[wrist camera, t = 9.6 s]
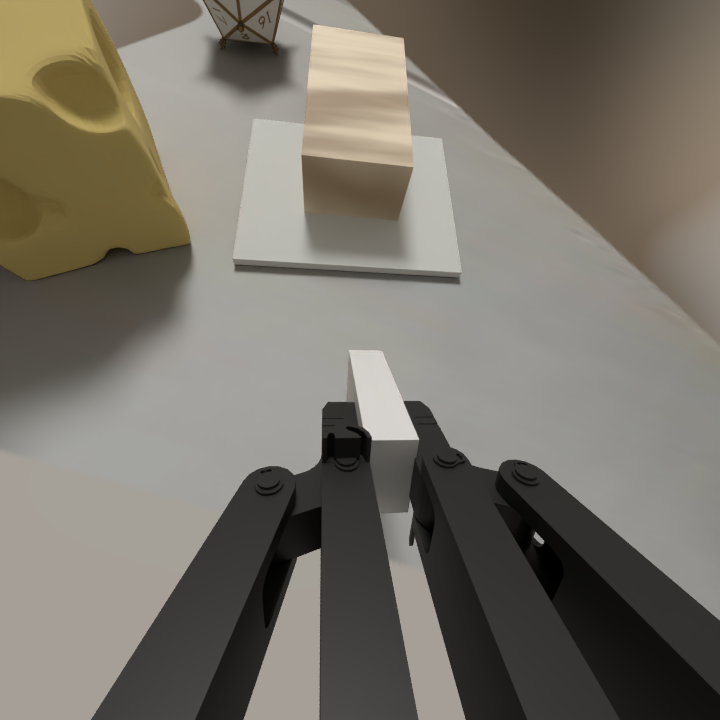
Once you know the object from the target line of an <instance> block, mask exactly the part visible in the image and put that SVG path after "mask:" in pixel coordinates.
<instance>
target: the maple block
mask: <svg viewBox="0 0 720 720" xmlns="http://www.w3.org/2000/svg"><path fill="white" fill-rule="evenodd" d="M301 158H302V178H303V198H304V212H309V213H320V214H331V215H342V216H353V217H364V218H375V219H386V220H397V221H398V218H399V215H400V212H401V208H402V205H403V202H404V198H405V195H406V191H407V188H408V185H409V181H410V178H411V175H412V171H413V168H414V164H413V152H412V139H411V127H410V114H409V102H408V89H407V77H406V64H405V52H404V39H403V38H398V37H392V36H386V35H379V34H372V33H366V32H359V31H353V30H346V29H340V28H333V27H326V26H320V25H313V34H312V45H311V55H310V66H309V77H308V88H307V99H306V110H305V121H304V132H303V142H302V153H301Z"/></svg>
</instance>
